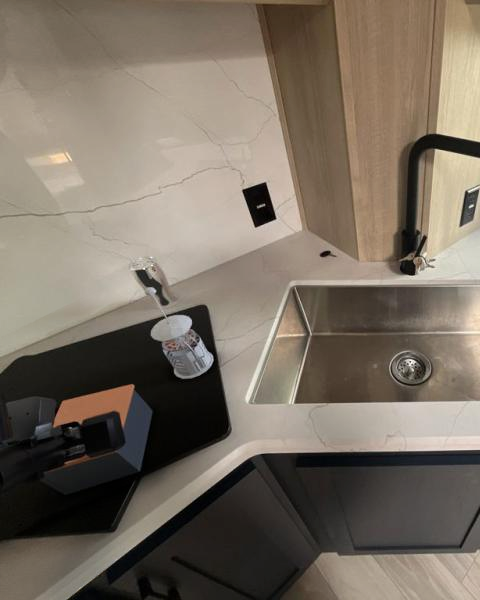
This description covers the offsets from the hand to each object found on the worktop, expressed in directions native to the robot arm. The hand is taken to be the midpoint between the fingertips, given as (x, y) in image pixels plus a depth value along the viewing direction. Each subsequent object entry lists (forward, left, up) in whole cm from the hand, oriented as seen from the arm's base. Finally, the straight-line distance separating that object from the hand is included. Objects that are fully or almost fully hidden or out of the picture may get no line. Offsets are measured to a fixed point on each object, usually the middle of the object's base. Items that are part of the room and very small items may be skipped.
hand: (82, 431), depth 58 cm
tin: (+1, +1, -10) cm, 10 cm away
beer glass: (+38, +29, -10) cm, 49 cm away
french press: (+23, +2, -10) cm, 25 cm away
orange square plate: (+1, +1, -1) cm, 2 cm away
